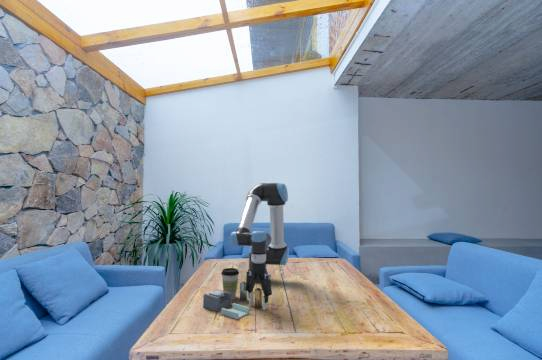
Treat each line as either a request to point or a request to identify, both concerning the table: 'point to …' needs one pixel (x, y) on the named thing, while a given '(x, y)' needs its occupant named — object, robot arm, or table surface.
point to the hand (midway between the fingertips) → (258, 307)
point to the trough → (236, 311)
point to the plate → (218, 293)
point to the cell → (258, 298)
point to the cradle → (217, 301)
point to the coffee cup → (230, 280)
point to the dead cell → (243, 292)
